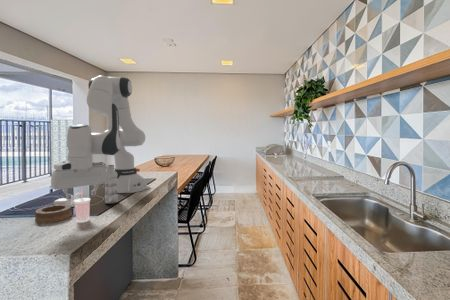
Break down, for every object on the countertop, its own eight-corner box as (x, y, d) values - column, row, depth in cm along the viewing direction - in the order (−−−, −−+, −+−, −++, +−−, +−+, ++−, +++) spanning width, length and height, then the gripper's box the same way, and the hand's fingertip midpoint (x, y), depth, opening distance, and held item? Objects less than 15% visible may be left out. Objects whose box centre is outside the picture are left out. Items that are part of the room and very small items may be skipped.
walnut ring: (66, 211, 115) (65, 202, 114) (75, 217, 106) (74, 208, 106) (33, 218, 105) (32, 208, 105) (40, 225, 97) (39, 215, 97)
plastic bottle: (113, 205, 123) (112, 166, 122) (101, 204, 125) (100, 165, 123) (121, 201, 130) (120, 164, 128) (109, 201, 131) (108, 164, 130)
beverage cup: (75, 219, 104) (74, 186, 103) (92, 217, 106) (90, 185, 105) (72, 224, 98) (71, 190, 97) (90, 222, 101) (88, 188, 100)
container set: (65, 212, 113) (65, 200, 113) (54, 212, 113) (53, 201, 113) (86, 200, 133) (86, 190, 133) (76, 200, 133) (76, 190, 133)
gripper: (103, 161, 110) (104, 191, 111) (48, 165, 95) (50, 200, 96) (109, 162, 106) (110, 193, 107) (53, 166, 91) (55, 203, 92)
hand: (81, 196), depth 101 cm, fingers open, 8 cm apart
